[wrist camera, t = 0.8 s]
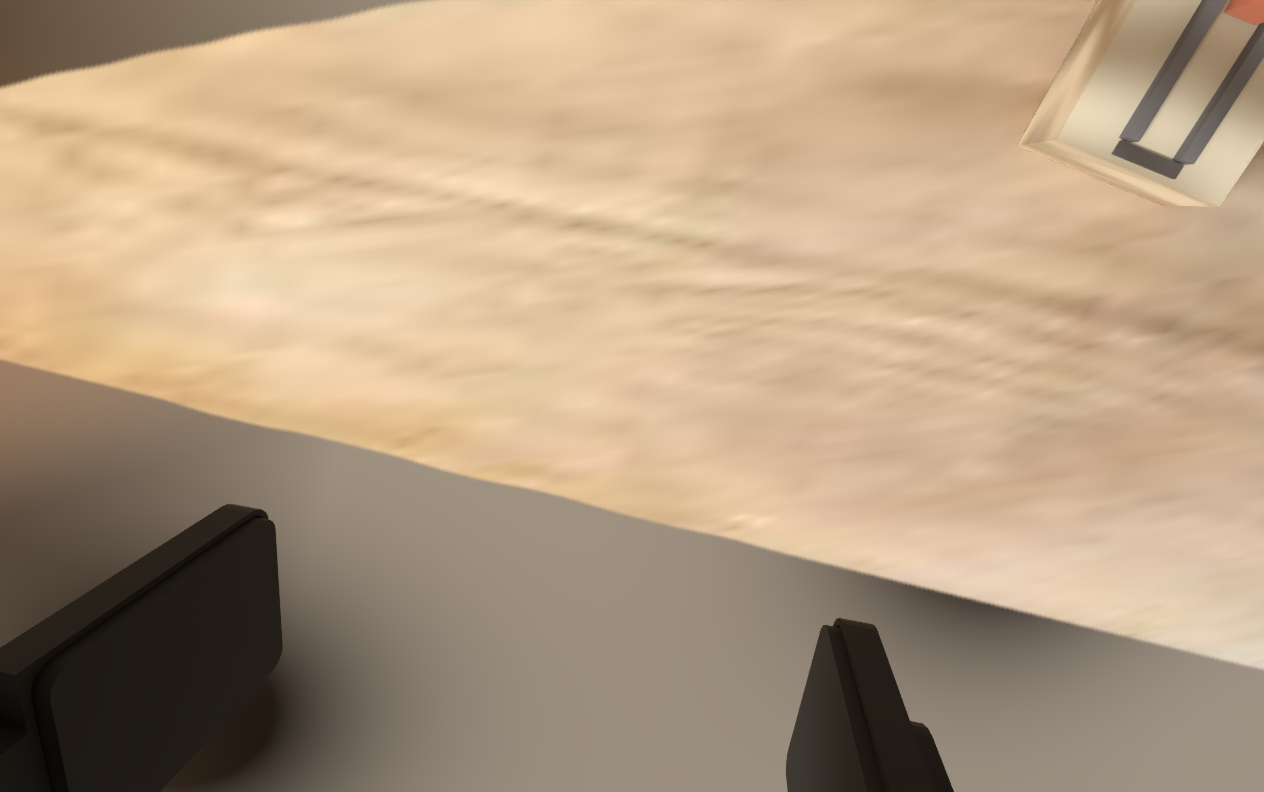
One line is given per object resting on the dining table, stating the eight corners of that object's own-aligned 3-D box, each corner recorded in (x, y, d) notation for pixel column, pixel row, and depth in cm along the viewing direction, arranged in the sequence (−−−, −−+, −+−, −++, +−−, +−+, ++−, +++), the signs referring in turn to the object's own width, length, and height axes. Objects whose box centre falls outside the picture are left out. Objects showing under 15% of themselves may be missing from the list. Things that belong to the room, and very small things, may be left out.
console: (1138, -72, 30) (1210, -117, 25) (1298, -6, 30) (1398, -40, 25) (1017, 145, 33) (1062, 138, 28) (1161, 204, 33) (1229, 206, 28)
